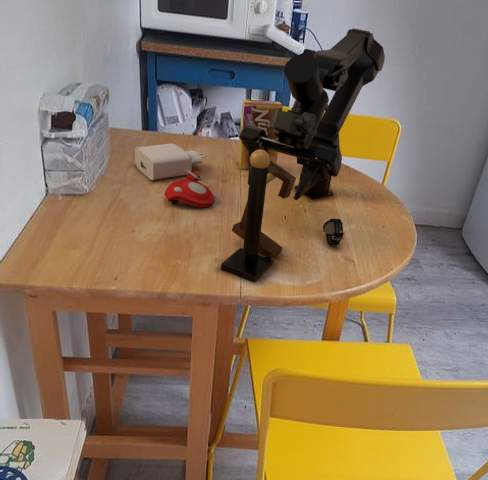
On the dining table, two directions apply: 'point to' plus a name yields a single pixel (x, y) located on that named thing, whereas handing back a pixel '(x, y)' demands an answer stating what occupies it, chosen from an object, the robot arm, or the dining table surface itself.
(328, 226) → the smartwatch
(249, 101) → the candy box
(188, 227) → the dining table surface
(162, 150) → the charger
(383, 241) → the dining table surface
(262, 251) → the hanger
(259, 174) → the coat rack
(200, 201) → the tracker holder
